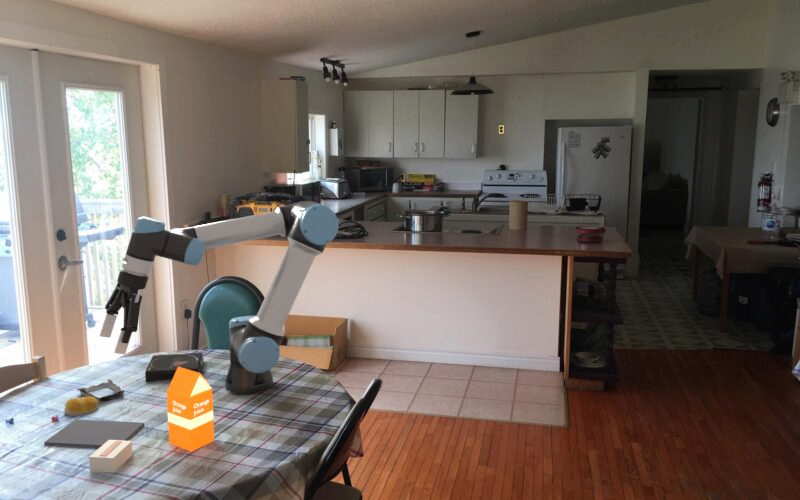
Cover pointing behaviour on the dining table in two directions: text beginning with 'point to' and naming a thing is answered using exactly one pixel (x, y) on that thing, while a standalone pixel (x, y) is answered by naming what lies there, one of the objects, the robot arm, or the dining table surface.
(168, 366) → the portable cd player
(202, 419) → the orange juice
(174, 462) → the dining table surface
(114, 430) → the charcoal mat
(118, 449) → the block
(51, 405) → the dining table surface
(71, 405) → the bread roll
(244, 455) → the dining table surface
